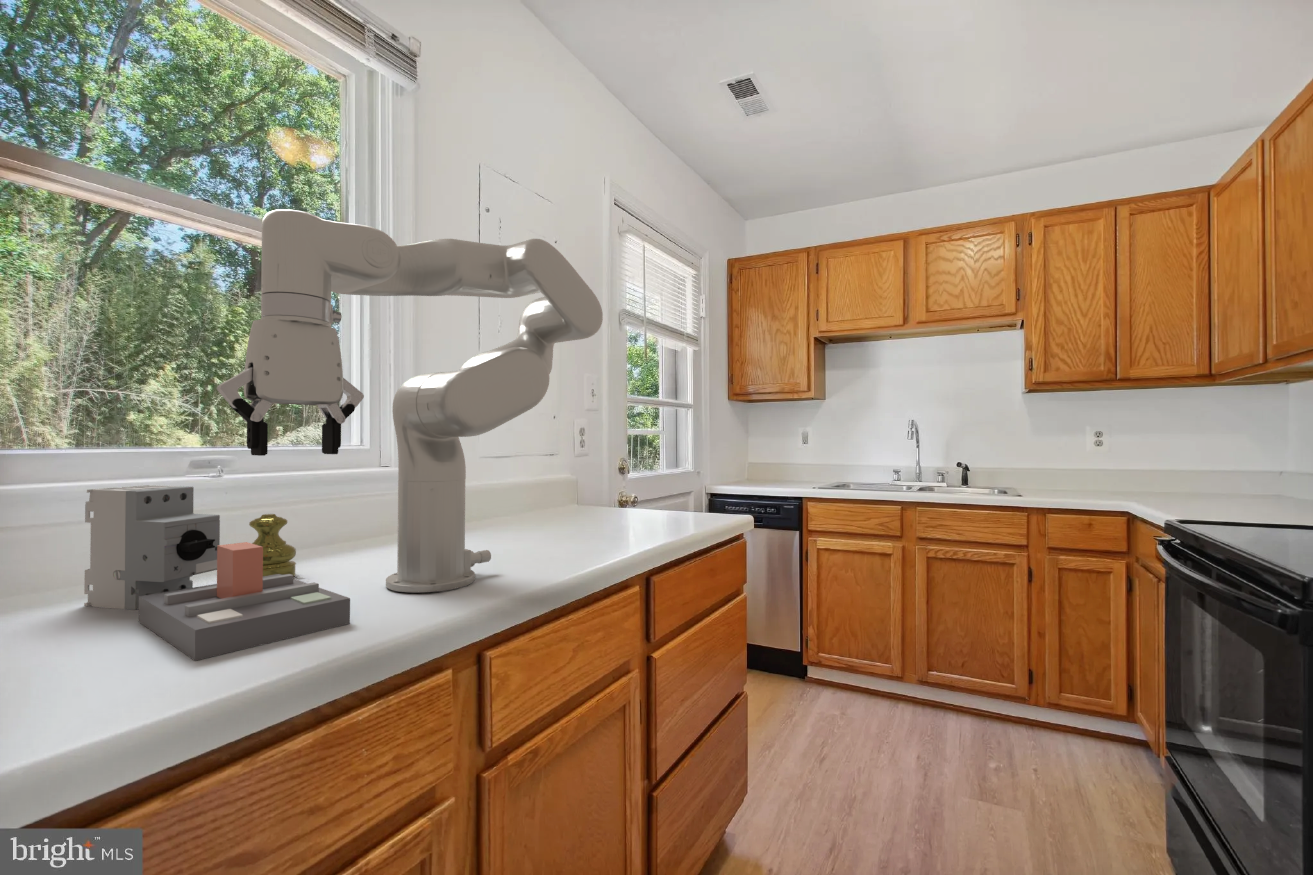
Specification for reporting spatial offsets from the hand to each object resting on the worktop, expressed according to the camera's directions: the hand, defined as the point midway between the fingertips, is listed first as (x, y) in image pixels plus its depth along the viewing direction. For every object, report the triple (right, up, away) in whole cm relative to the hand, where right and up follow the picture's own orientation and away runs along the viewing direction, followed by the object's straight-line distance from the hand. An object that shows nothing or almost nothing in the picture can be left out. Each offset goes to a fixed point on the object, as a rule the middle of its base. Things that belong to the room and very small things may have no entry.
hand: (296, 453), depth 75 cm
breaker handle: (-4, -17, -5) cm, 18 cm away
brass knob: (-15, -20, +17) cm, 30 cm away
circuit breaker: (-21, -20, +4) cm, 29 cm away
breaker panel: (-3, -20, -5) cm, 21 cm away
